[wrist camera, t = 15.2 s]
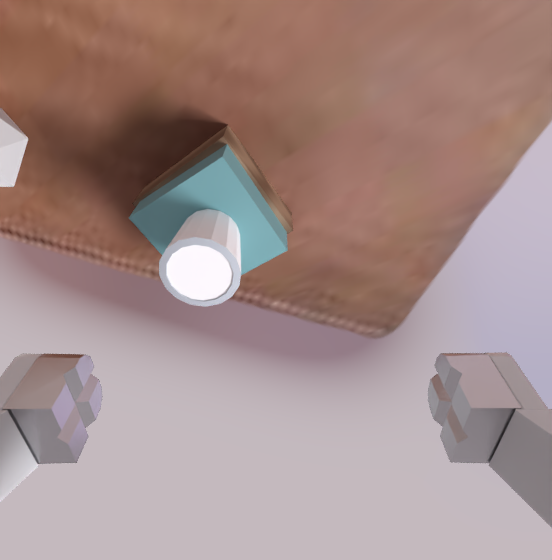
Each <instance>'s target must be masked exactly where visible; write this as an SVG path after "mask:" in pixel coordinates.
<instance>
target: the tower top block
mask: <svg viewBox="0 0 552 560" xmlns="http://www.w3.org/2000/svg"><path fill="white" fill-rule="evenodd" d="M205 209H212V210H218V211H221V212H223V213H225V214H226V215H228V216H230V217H231V218H232V220H233V221H234V222H235V223H236V224H237V227H238V230H239V233H240V248H241V275H242V274H244V273H246V272H248V271H250V270H252V269H254V268H255V267H257V266H259V265H261V264H263V263H265V262H267V261H268V260H270V259H272V258H274V257H276V256H278V255H280V254H281V253H283V252H285V251H287V250H288V249H287V232H286V230H285V229H284V227H283V226H282V224H281V223H280V221H279V220H278V218H277V217H276V215H275V214H274V213H273V211H272V210H271V208H270V207H269V205H268V204H267V202H266V201H265V199H264V198H263V196H262V195H261V193H260V192H259V190H258V189H257V187H256V186H255V184H254V183H253V181H252V180H251V178H250V177H249V176H248V174H247V173H246V171H245V170H244V168H243V167H242V165H241V164H240V162H239V161H238V159H237V158H236V156H235V155H234V153H233V152H232V150H231V149H230V147H229V146H228V144H226V145H225V146H223V147H222V148H220V149H219V150H217V151H216V152H214V153H213V154H211V155H210V156H208V157H207V158H205V159H203V160H202V161H200V162H199V163H197V164H196V165H194V166H193V167H191V168H190V169H188V170H187V171H185V172H184V173H182V174H181V175H179V176H178V177H176V178H175V179H173V180H172V181H170V182H169V183H167V184H166V185H164V186H162V187H161V188H159V189H158V190H156V191H155V192H153V193H152V194H150V195H149V196H147V197H146V198H144V199H143V200H141V201H140V202H139V204H138V205H137V206H136V208H135V209H134V211H133V212H132V214H131V215H130V216H129V219H130V220H131V221H132V222H133V223H134V224H135V225H136V227H137V228H138V229H139V230H140V231H141V232H142V233H143V234H144V236H145V237H146V238H147V239H148V240H149V241H150V242H151V243H152V244H153V246H154V247H155V248H156V249H157V250H158V251H159V252H160V253H161V254H162V255H163V254H164V252H165V250H166V248H167V247H168V245H169V244H170V243H171V241H172V240H173V238H174V237H175V235H176V234H177V232H178V231H179V230H180V228H181V227H182V225H183V224H184V222H185V221H186V220H187V218H188V217H189V216H191V215H192V214H194V213H195V212H196V211H200V210H205Z"/></svg>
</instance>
